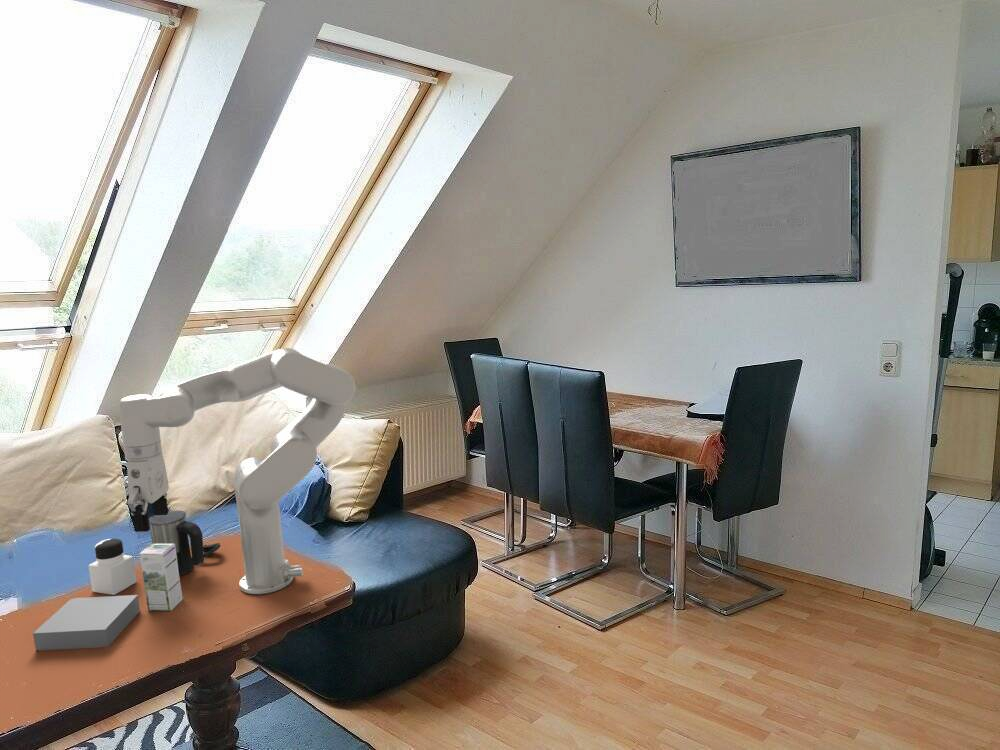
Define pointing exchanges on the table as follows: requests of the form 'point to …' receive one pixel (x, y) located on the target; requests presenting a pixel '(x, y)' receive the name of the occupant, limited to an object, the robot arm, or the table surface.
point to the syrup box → (161, 577)
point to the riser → (87, 623)
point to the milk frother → (181, 539)
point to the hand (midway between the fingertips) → (152, 522)
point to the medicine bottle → (111, 568)
